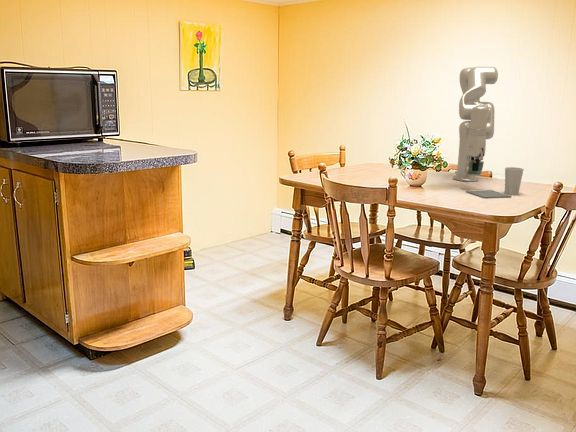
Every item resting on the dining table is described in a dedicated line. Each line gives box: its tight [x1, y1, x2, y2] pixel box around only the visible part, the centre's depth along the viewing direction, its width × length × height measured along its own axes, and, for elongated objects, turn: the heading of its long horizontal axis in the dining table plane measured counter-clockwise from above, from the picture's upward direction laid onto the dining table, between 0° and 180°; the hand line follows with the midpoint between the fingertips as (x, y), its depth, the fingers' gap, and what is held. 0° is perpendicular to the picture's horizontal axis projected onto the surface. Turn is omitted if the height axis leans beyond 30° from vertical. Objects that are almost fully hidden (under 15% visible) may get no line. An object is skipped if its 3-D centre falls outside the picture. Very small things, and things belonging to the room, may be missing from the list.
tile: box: [465, 160, 485, 177], centre depth 259 cm, size 2×8×7 cm, turn 104°
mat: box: [465, 189, 512, 199], centre depth 248 cm, size 15×14×1 cm
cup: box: [503, 166, 525, 196], centre depth 250 cm, size 8×8×12 cm
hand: (473, 170), depth 259 cm, fingers closed on tile, 1 cm apart
